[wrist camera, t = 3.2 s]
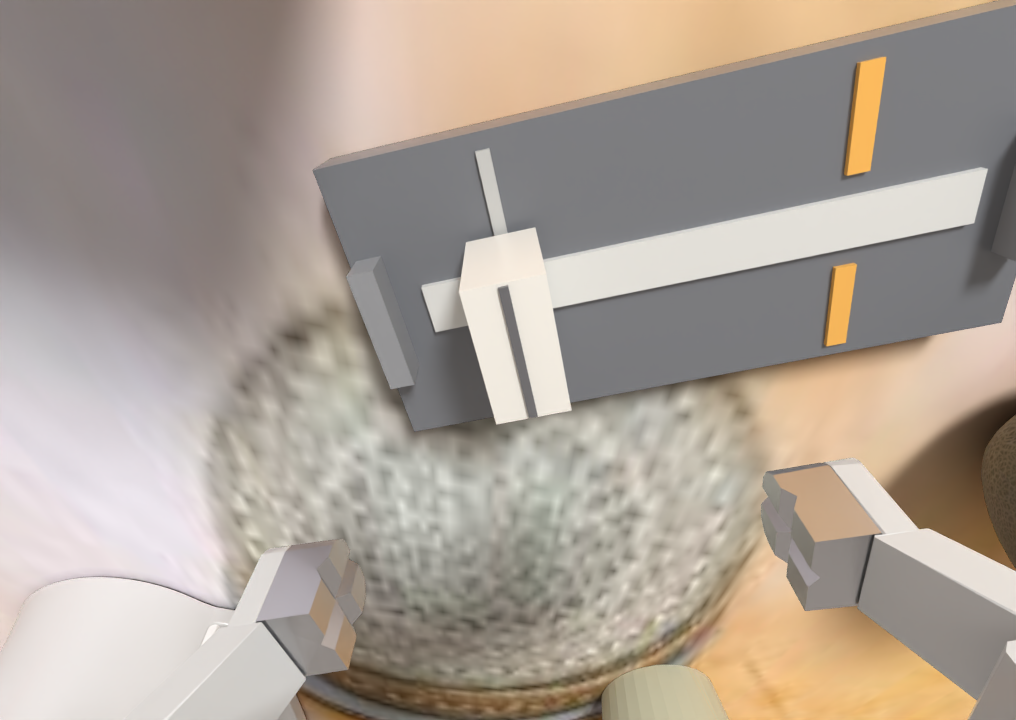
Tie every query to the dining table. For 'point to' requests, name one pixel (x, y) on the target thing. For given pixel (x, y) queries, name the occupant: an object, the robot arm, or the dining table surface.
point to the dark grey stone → (1002, 485)
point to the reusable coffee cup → (662, 695)
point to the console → (706, 214)
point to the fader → (513, 326)
